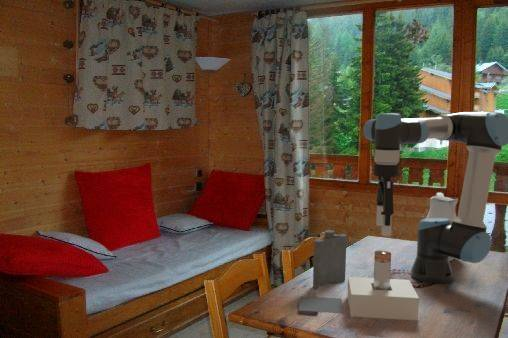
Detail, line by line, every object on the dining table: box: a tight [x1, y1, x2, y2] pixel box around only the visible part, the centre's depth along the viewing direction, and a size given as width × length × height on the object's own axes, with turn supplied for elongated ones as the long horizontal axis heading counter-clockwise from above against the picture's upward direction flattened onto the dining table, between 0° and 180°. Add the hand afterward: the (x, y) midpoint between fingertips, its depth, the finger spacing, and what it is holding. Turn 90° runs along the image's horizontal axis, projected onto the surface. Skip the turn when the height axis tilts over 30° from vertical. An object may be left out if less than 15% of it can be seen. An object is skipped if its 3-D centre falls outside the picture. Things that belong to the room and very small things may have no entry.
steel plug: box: [373, 250, 392, 291], centre depth 153 cm, size 5×5×18 cm
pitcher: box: [425, 192, 459, 262], centre depth 214 cm, size 24×17×28 cm
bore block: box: [346, 276, 420, 321], centre depth 154 cm, size 20×16×8 cm
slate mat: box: [298, 295, 345, 316], centre depth 157 cm, size 14×12×1 cm
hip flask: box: [312, 229, 347, 290], centre depth 178 cm, size 16×4×20 cm, turn 128°
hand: (383, 230), depth 151 cm, fingers open, 13 cm apart
